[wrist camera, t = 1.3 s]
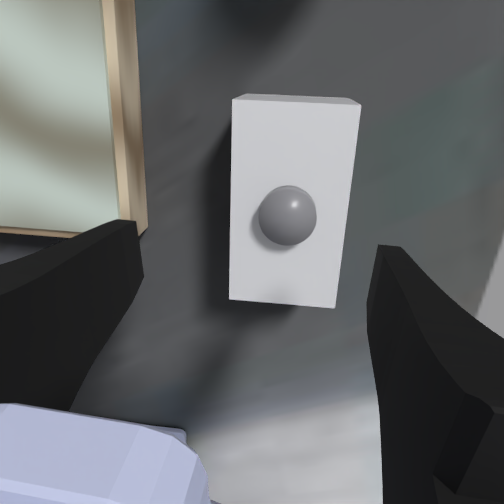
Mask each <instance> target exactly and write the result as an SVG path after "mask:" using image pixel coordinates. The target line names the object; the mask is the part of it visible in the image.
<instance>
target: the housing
mask: <svg viewBox="0 0 504 504" xmlns="http://www.w3.org/2000/svg"><path fill="white" fill-rule="evenodd" d="M360 112H361V105H360V104H358V103H357V102H355V101H353V100H351V99H349V98H336V97H313V96H290V95H267V94H245V95H242V96H239V97H237V98H234V99H232V147H231V208H230V269H229V299H232V300H244V301H255V302H267V303H278V304H290V305H302V306H313V307H325V308H335V303H336V295H337V288H338V280H339V272H340V265H341V257H342V249H343V242H344V234H345V227H346V219H347V211H348V204H349V196H350V188H351V181H352V173H353V165H354V158H355V150H356V142H357V135H358V127H359V119H360Z"/></svg>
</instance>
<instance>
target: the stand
mask: <svg viewBox="0 0 504 504" xmlns="http://www.w3.org/2000/svg"><path fill="white" fill-rule="evenodd" d="M116 219H122V220H132V221H136V223H137V230H138V236H139V235H140V234H141V233H142V232H143V231H144V230H145V229H146V228H147V227H148V219H147V202H146V186H145V169H144V152H143V135H142V118H141V102H140V85H139V68H138V51H137V35H136V18H135V1H134V0H0V232H2V233H15V234H27V235H40V236H52V237H65V238H72V237H74V236H76V235H79V234H81V233H83V232H85V231H88V230H90V229H92V228H95V227H97V226H99V225H102V224H104V223H107V222H110V221H113V220H116Z"/></svg>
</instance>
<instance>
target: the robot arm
mask: <svg viewBox="0 0 504 504" xmlns="http://www.w3.org/2000/svg"><path fill="white" fill-rule="evenodd" d="M143 278H144V273H143V266H142V258H141V251H140V244H139V237H138V230H137V223H136V221H132V220H122V219H116V220H113V221H110V222H107V223H104V224H102V225H99V226H97V227H95V228H92V229H90V230H88V231H85V232H83V233H81V234H79V235H76V236H74V237H72V238H69V239H67V240H65V241H63V242H60V243H58V244H55V245H53V246H50V247H48V248H45V249H43V250H40V251H38V252H35V253H33V254H30V255H28V256H25V257H22V258H20V259H17V260H14V261H11V262H8V263H4V264H1V265H0V504H220V503H218V502H215V501H213V500H210V498H209V490H208V475H207V473H206V471H205V469H204V467H203V465H202V463H201V461H200V459H199V456H198V455H197V453H196V452H195V450H193V449H192V448H191V447H189V446H188V445H187V442H186V433H185V431H184V430H182V429H177V428H168V427H160V426H151V425H145V424H139V423H133V422H127V421H121V420H115V419H109V418H103V417H97V416H91V415H85V414H79V413H73V412H68V411H69V409H70V407H71V405H72V403H73V400H74V398H75V396H76V394H77V392H78V390H79V388H80V386H81V384H82V382H83V381H84V379H85V377H86V375H87V373H88V371H89V369H90V367H91V365H92V364H93V362H94V360H95V359H96V357H97V356H98V354H99V353H100V351H101V349H102V348H103V346H104V345H105V343H106V342H107V340H108V339H109V337H110V336H111V334H112V333H113V331H114V330H115V328H116V327H117V325H118V324H119V322H120V321H121V319H122V318H123V316H124V315H125V313H126V311H127V310H128V308H129V307H130V305H131V304H132V302H133V300H134V298H135V296H136V294H137V291H138V289H139V287H140V285H141V282H142V280H143ZM367 334H368V340H369V347H370V353H371V359H372V365H373V371H374V377H375V384H376V390H377V396H378V404H379V413H380V432H381V454H382V481H383V504H504V338H502V337H501V336H499V335H498V334H496V333H495V332H493V331H492V330H490V329H489V328H488V327H486V326H485V325H483V324H482V323H481V322H479V321H478V320H477V319H475V318H474V317H473V316H471V315H470V314H469V313H468V312H466V311H465V310H464V309H463V308H461V307H460V306H459V305H458V304H457V303H456V302H455V301H454V300H452V299H451V298H450V297H449V296H448V295H447V294H446V293H445V292H444V291H443V290H441V289H440V288H439V287H438V286H437V285H436V284H435V283H434V282H433V281H432V280H431V279H430V278H429V277H428V276H427V275H426V273H425V272H424V271H423V270H422V269H421V268H420V267H419V266H418V265H417V264H416V263H415V262H414V261H413V259H412V258H411V257H410V256H409V255H408V254H407V253H406V252H405V251H404V250H403V249H402V248H401V247H398V246H388V245H378V248H377V253H376V258H375V263H374V268H373V273H372V278H371V283H370V288H369V293H368V298H367Z"/></svg>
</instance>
